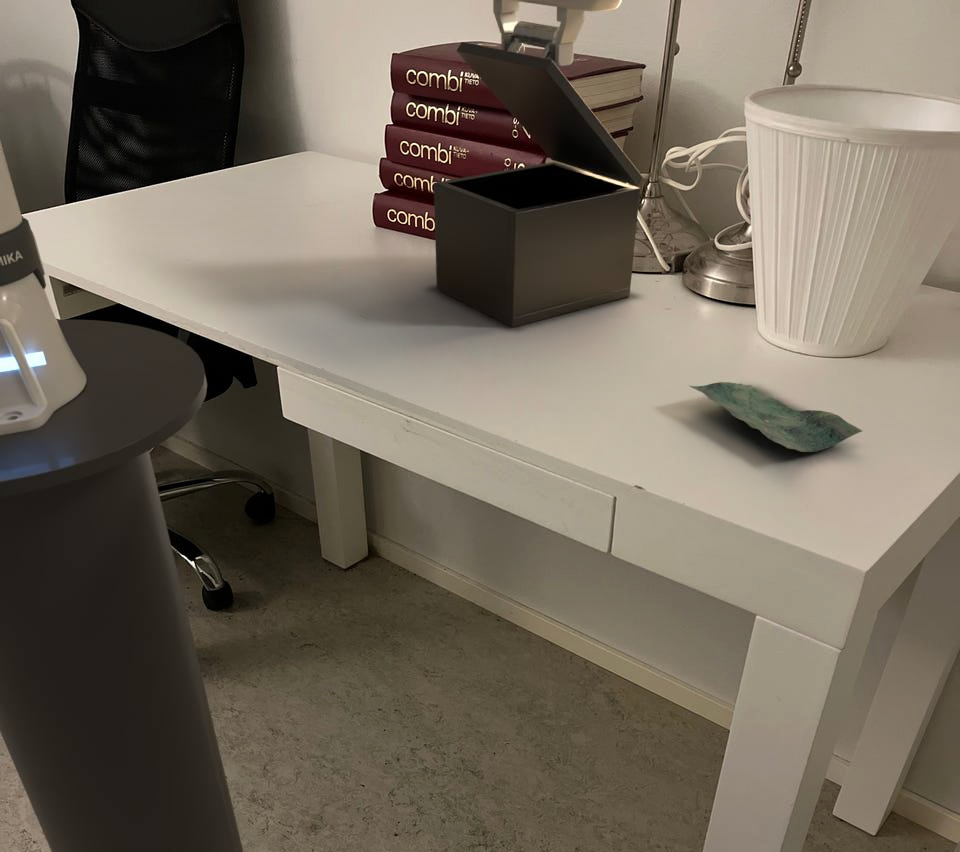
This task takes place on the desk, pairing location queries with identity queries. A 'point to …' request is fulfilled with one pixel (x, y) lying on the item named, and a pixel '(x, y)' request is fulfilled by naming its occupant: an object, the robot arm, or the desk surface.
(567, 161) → the box lid
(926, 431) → the desk surface
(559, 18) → the robot arm
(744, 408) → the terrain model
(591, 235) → the black box
